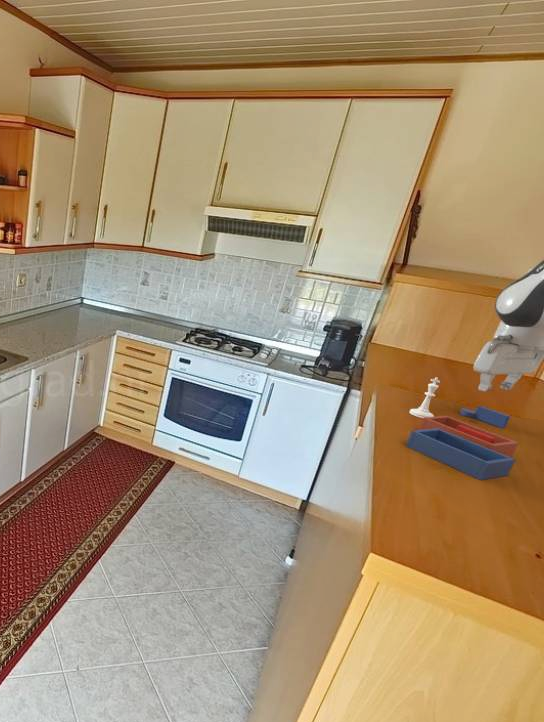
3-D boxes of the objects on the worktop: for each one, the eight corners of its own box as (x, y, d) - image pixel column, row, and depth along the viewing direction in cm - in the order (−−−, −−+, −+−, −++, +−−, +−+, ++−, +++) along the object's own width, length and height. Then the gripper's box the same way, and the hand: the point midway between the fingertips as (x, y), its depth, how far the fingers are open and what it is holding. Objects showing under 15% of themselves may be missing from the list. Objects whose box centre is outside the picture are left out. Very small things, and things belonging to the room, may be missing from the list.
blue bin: (507, 475, 92) (515, 459, 91) (480, 480, 89) (489, 463, 88) (431, 442, 104) (437, 428, 103) (405, 445, 101) (411, 430, 100)
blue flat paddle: (507, 427, 119) (513, 415, 118) (499, 428, 118) (505, 416, 117) (464, 412, 127) (469, 400, 126) (456, 412, 126) (461, 401, 125)
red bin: (511, 457, 101) (518, 442, 100) (487, 461, 98) (494, 445, 97) (440, 429, 113) (446, 415, 112) (417, 431, 110) (423, 417, 108)
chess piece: (407, 409, 124) (422, 372, 120) (430, 414, 122) (446, 377, 119) (411, 415, 120) (427, 377, 116) (435, 421, 118) (452, 382, 114)
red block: (492, 451, 102) (498, 437, 101) (482, 452, 101) (489, 438, 100) (443, 431, 110) (448, 418, 109) (433, 432, 109) (439, 419, 108)
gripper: (512, 339, 108) (485, 396, 113) (559, 339, 116) (532, 393, 121) (479, 331, 114) (454, 386, 118) (527, 332, 121) (501, 384, 126)
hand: (494, 389), depth 120 cm, fingers open, 8 cm apart
